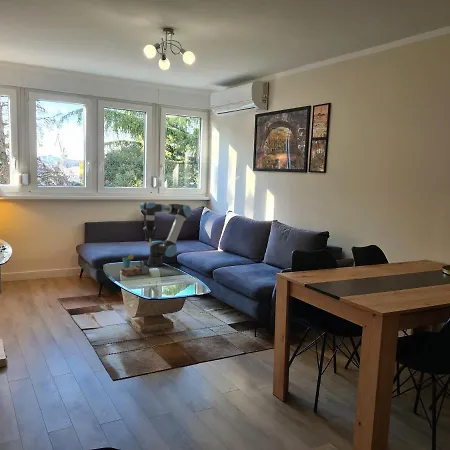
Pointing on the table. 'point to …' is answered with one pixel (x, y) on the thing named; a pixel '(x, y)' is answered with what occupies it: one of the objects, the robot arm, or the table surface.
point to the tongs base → (130, 268)
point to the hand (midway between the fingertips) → (149, 245)
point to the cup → (126, 260)
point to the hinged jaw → (132, 271)
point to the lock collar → (143, 268)
